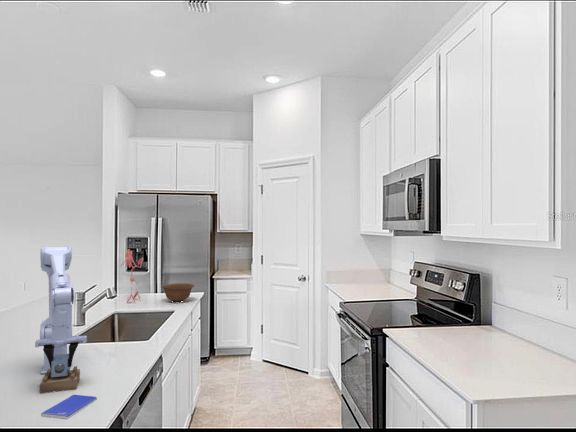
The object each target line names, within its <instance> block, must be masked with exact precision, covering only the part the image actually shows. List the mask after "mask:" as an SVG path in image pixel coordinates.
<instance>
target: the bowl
mask: <svg viewBox="0 0 576 432" xmlns="http://www.w3.org/2000/svg"><path fill="white" fill-rule="evenodd" d="M160 288H162V289H163V290H164V293H165V297H166V298H167V299H168V300H170V301H173V302H181V301H184V302H185V300H186V299H188V298H189V297H190V295H191V291H192V289H193V288H195V284H193V283H182V282H181V283H180V282H179V283H177V282H176V283H169V284H165V285H161V286H160Z"/></svg>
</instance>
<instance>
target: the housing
mask: <svg viewBox="0 0 576 432" xmlns="http://www.w3.org/2000/svg"><path fill="white" fill-rule="evenodd" d="M68 363H69V353H67V354H58V355H55V356H54V358H53V360H52V365H51V377H59V376H67V375H68V373H69V371H70V370H71V367H68Z"/></svg>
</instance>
